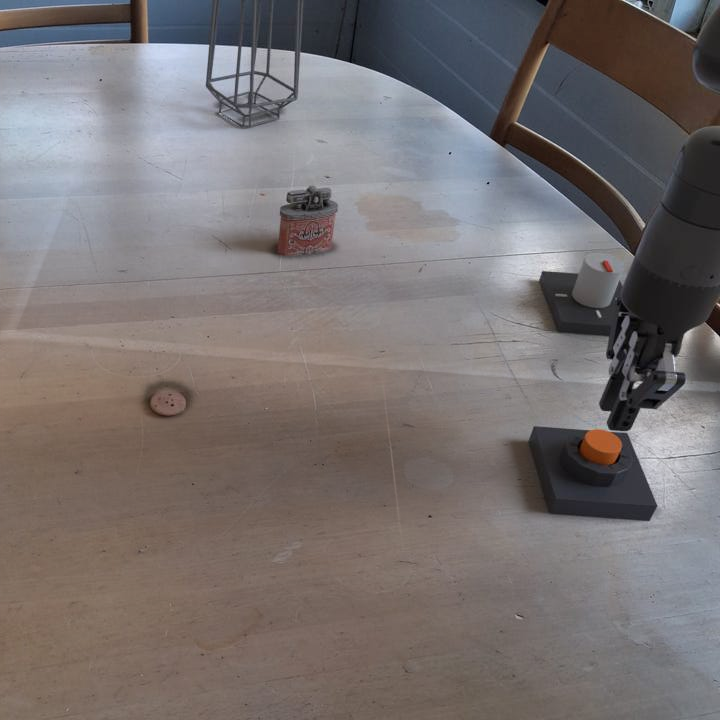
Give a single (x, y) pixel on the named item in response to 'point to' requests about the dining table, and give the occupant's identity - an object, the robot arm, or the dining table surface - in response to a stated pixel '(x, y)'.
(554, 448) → the button block
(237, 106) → the geometric lantern
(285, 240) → the lighter
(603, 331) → the dial panel
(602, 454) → the button
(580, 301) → the timer dial
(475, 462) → the dining table surface
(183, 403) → the cookie
